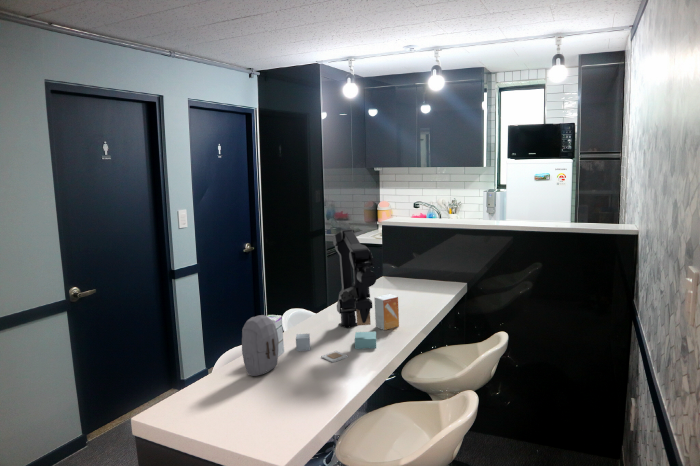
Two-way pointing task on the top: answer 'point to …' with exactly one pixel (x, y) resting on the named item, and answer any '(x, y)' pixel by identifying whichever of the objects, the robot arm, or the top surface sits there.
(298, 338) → the grey cube
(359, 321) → the walnut cube
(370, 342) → the teal base block
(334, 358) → the tile
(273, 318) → the syrup box
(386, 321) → the small box
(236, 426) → the top surface
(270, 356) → the soft grey pack
